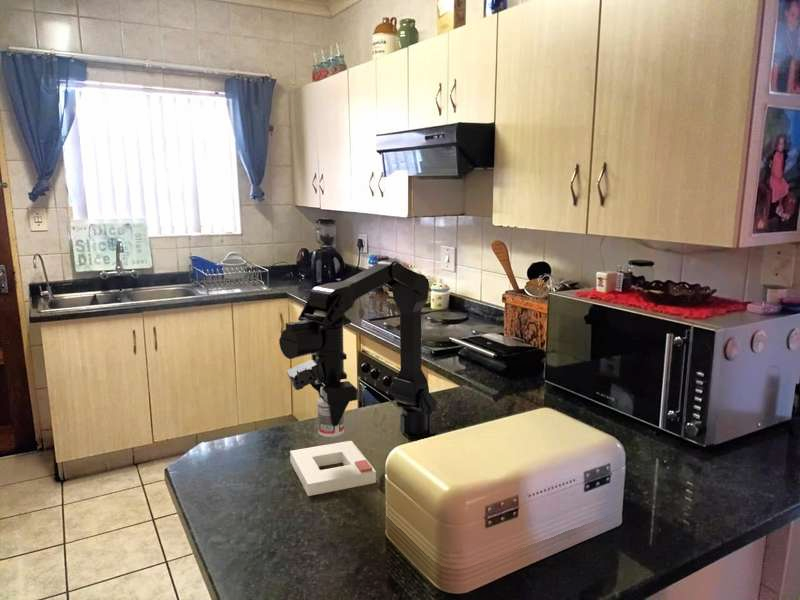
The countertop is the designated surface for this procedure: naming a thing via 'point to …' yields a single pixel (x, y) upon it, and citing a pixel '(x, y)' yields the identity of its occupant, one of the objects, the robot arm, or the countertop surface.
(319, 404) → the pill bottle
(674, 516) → the countertop surface
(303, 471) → the socket plate
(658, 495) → the countertop surface
